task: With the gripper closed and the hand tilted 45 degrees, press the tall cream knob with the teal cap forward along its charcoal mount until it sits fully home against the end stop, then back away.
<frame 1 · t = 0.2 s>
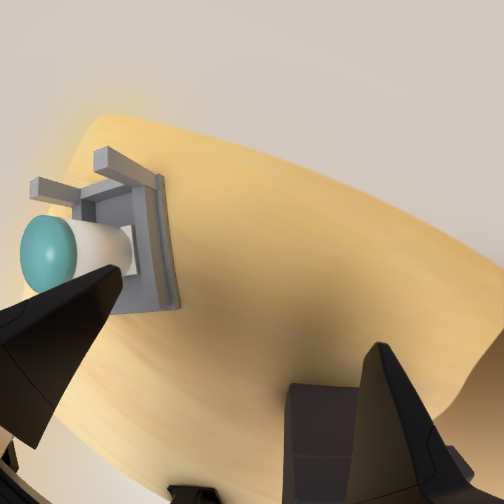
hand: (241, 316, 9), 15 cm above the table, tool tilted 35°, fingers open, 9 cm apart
knob mount: (129, 253, 25), on the table
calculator: (343, 399, 23), on the table
knob: (88, 254, 19), point 6 cm above the table, slide at 0.0 cm
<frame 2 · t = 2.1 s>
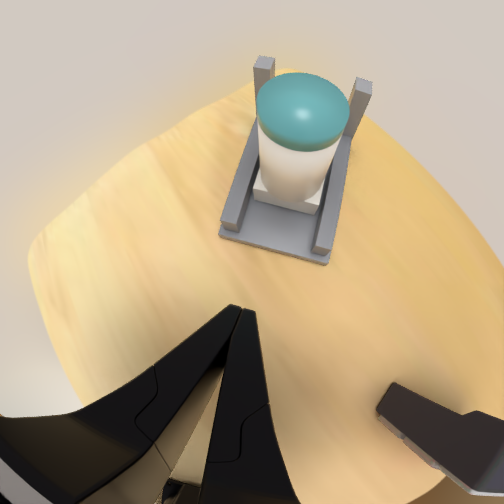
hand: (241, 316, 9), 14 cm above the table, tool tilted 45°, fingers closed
knob mount: (288, 191, 24), on the table
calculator: (421, 414, 19), on the table
knob: (295, 153, 18), point 6 cm above the table, slide at 0.0 cm
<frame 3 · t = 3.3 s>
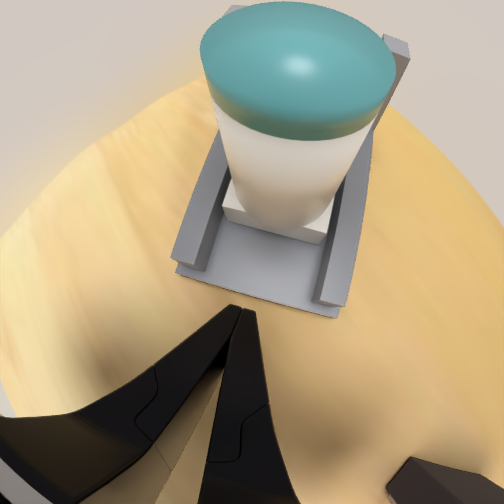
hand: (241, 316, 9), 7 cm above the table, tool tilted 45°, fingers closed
knob mount: (281, 206, 17), on the table
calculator: (438, 482, 12), on the table
knob: (288, 148, 10), point 6 cm above the table, slide at 0.0 cm
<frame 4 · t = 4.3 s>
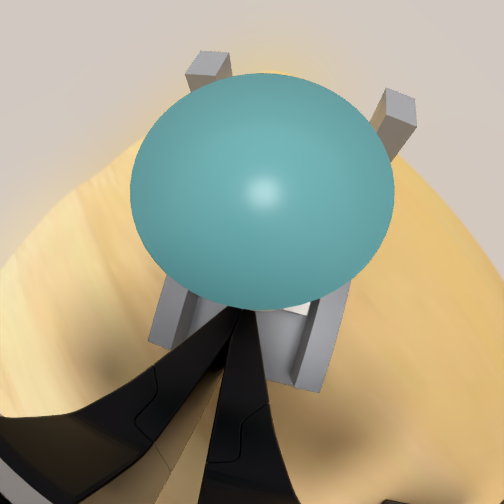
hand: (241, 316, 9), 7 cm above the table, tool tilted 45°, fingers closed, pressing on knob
knob mount: (263, 273, 16), on the table
knob: (263, 240, 10), point 6 cm above the table, slide at 0.3 cm, touching gripper
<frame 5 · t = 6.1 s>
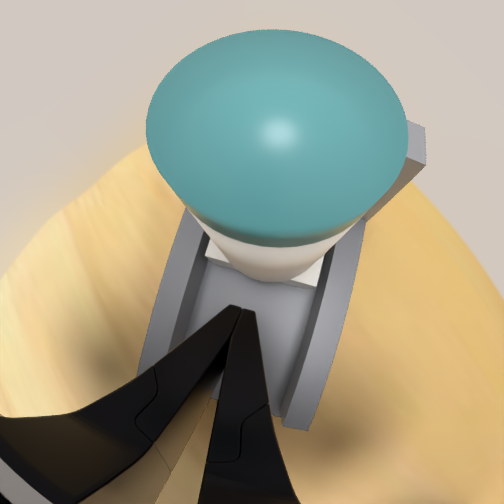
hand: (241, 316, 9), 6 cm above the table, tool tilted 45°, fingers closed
knob mount: (254, 304, 15), on the table
knob: (273, 203, 10), point 6 cm above the table, slide at 3.4 cm
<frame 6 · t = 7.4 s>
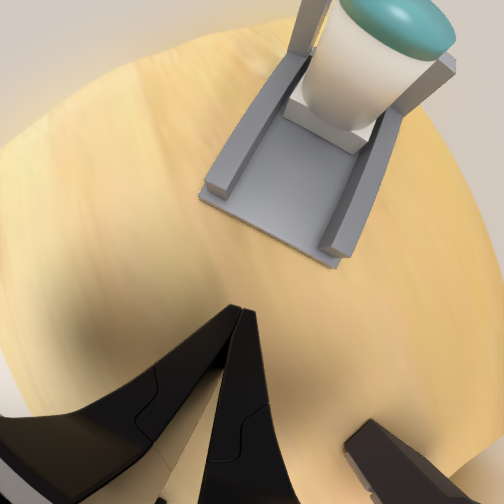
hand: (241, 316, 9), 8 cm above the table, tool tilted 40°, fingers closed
knob mount: (304, 159, 17), on the table
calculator: (388, 452, 17), on the table
knob: (359, 68, 11), point 6 cm above the table, slide at 3.4 cm
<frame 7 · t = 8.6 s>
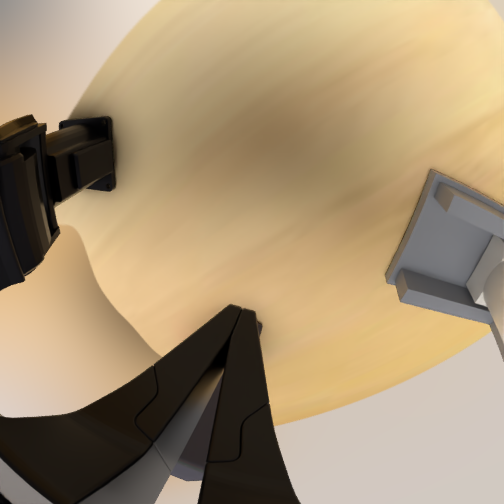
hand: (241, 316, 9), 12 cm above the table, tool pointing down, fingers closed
knob mount: (463, 246, 17), on the table
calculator: (228, 342, 29), on the table
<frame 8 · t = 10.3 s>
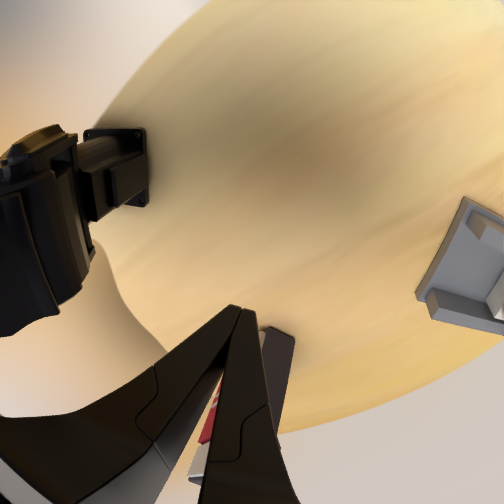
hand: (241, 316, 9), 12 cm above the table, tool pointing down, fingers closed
knob mount: (485, 266, 17), on the table
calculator: (258, 355, 29), on the table
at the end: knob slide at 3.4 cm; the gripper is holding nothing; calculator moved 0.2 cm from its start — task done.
